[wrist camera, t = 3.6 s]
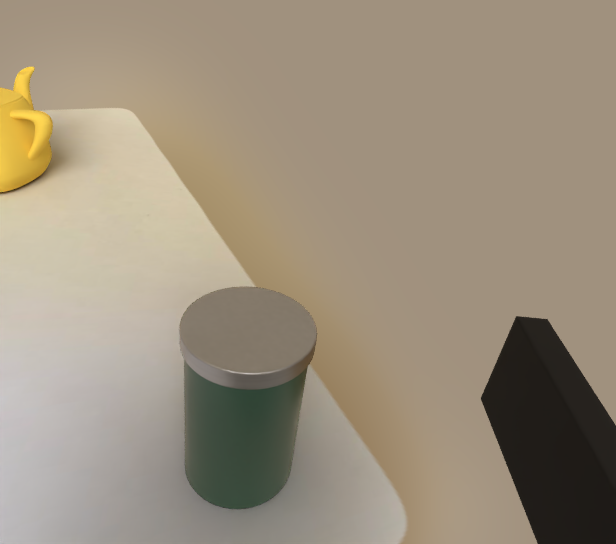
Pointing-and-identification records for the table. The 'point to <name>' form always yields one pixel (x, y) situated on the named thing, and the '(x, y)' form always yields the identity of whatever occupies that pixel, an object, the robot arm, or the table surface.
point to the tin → (243, 392)
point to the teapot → (22, 135)
